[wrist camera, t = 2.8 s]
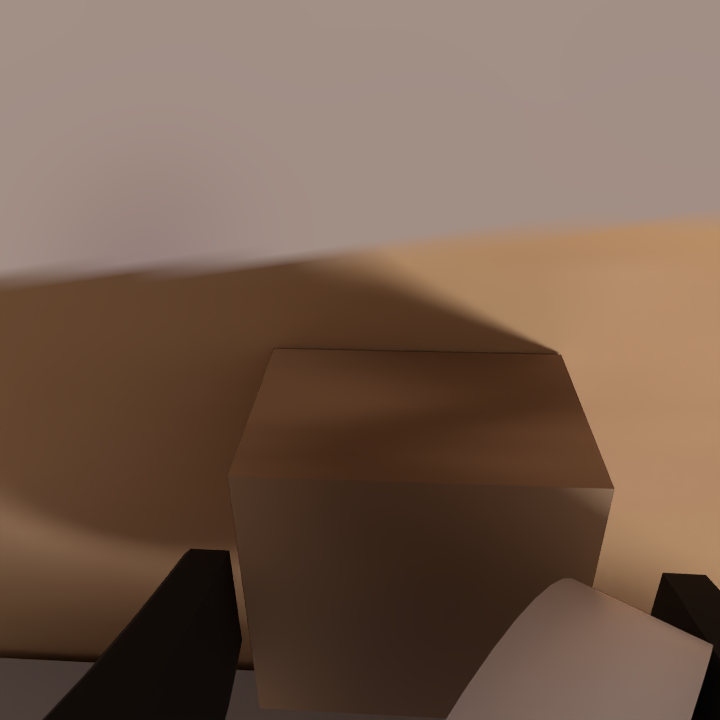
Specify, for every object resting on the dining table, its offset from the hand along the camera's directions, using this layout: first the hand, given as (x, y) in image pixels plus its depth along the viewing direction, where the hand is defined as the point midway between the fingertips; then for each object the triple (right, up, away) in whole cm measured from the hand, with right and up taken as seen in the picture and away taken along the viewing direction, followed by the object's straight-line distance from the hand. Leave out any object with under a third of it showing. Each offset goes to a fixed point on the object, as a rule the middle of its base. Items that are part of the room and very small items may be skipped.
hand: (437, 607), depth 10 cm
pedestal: (0, +2, +3) cm, 3 cm away
